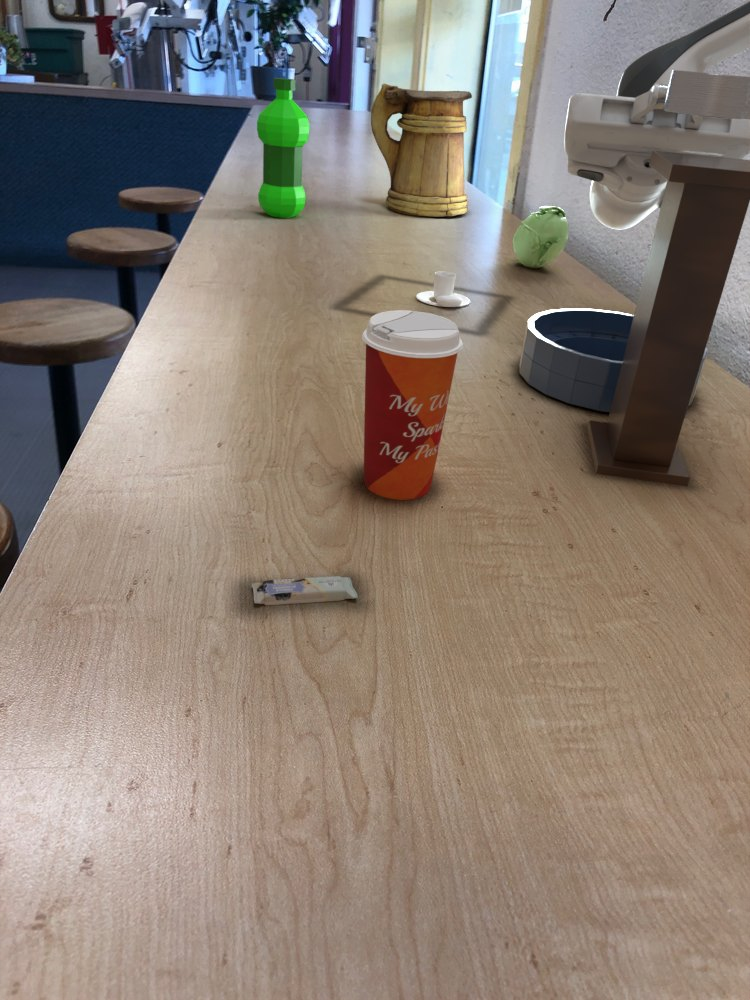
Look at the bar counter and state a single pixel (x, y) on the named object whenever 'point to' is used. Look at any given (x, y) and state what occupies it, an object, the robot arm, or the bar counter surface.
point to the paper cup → (406, 399)
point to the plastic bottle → (282, 152)
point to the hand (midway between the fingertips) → (678, 92)
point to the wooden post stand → (673, 316)
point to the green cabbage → (541, 237)
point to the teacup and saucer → (443, 292)
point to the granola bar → (303, 590)
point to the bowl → (578, 355)
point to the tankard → (423, 150)
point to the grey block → (709, 95)
